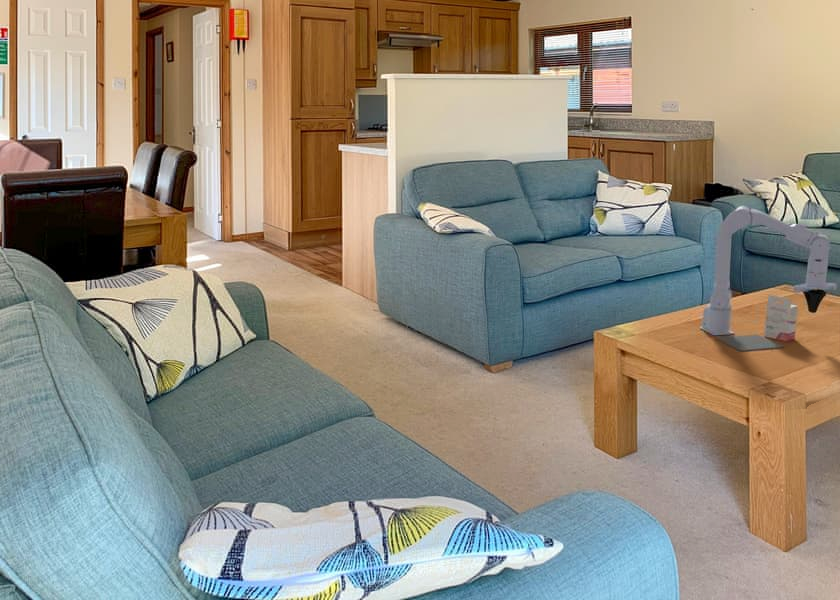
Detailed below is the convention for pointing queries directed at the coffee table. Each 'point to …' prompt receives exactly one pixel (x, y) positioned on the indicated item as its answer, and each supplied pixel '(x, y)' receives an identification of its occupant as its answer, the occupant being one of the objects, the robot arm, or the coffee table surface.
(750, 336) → the mat
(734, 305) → the coffee table surface
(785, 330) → the ink cartridge box
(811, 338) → the coffee table surface
